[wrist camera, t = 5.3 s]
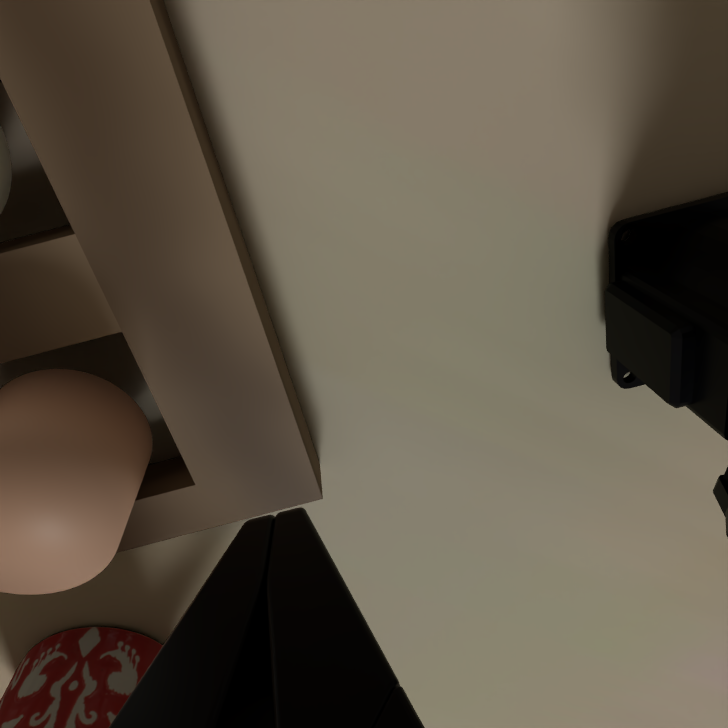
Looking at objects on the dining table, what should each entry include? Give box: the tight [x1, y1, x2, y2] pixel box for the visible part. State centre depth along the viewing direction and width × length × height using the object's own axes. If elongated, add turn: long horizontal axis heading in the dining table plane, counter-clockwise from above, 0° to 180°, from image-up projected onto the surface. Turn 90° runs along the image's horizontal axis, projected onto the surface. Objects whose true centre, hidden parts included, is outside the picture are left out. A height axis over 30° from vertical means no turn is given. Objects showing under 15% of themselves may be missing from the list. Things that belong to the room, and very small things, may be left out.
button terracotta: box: [0, 369, 153, 595], centre depth 16 cm, size 5×5×4 cm
